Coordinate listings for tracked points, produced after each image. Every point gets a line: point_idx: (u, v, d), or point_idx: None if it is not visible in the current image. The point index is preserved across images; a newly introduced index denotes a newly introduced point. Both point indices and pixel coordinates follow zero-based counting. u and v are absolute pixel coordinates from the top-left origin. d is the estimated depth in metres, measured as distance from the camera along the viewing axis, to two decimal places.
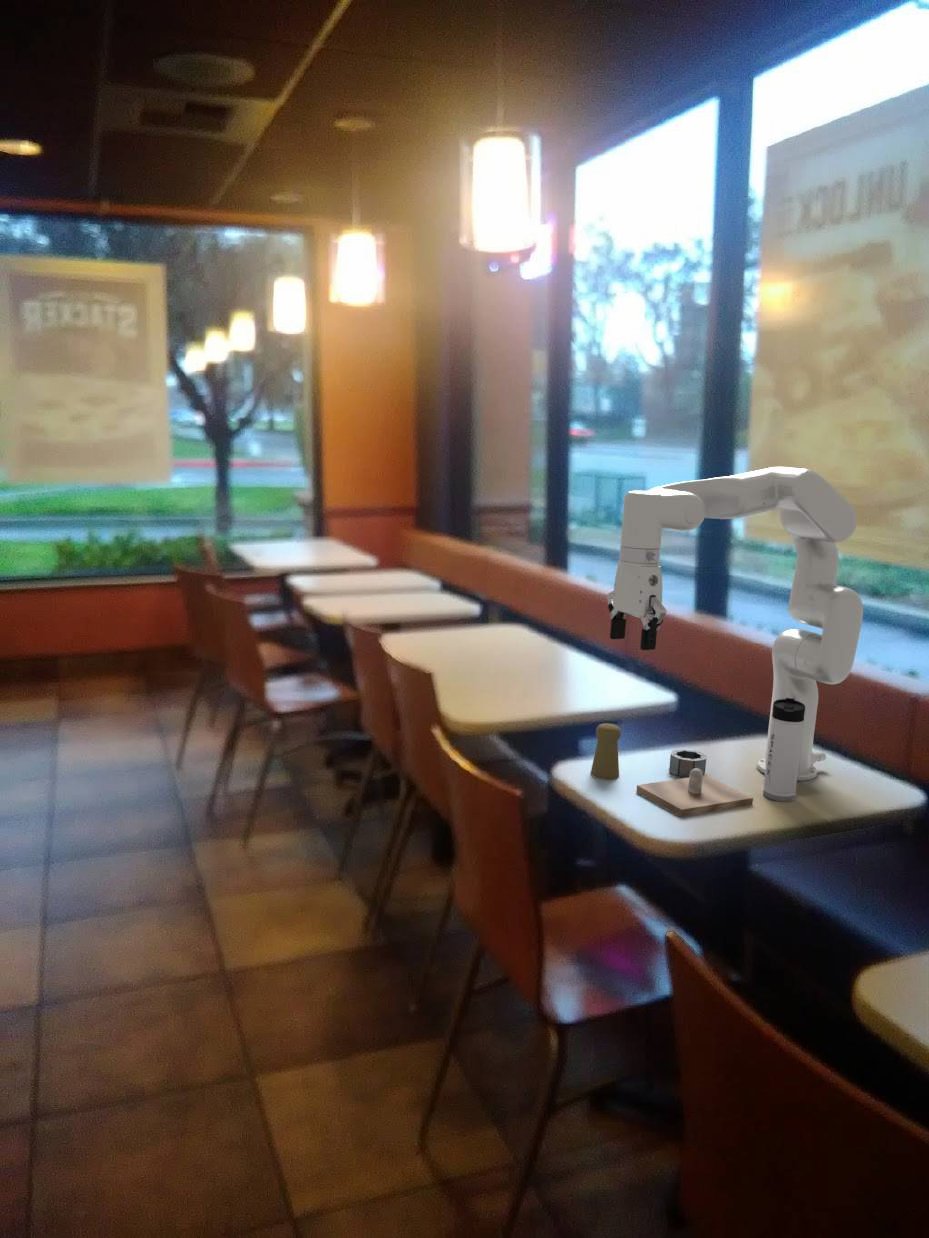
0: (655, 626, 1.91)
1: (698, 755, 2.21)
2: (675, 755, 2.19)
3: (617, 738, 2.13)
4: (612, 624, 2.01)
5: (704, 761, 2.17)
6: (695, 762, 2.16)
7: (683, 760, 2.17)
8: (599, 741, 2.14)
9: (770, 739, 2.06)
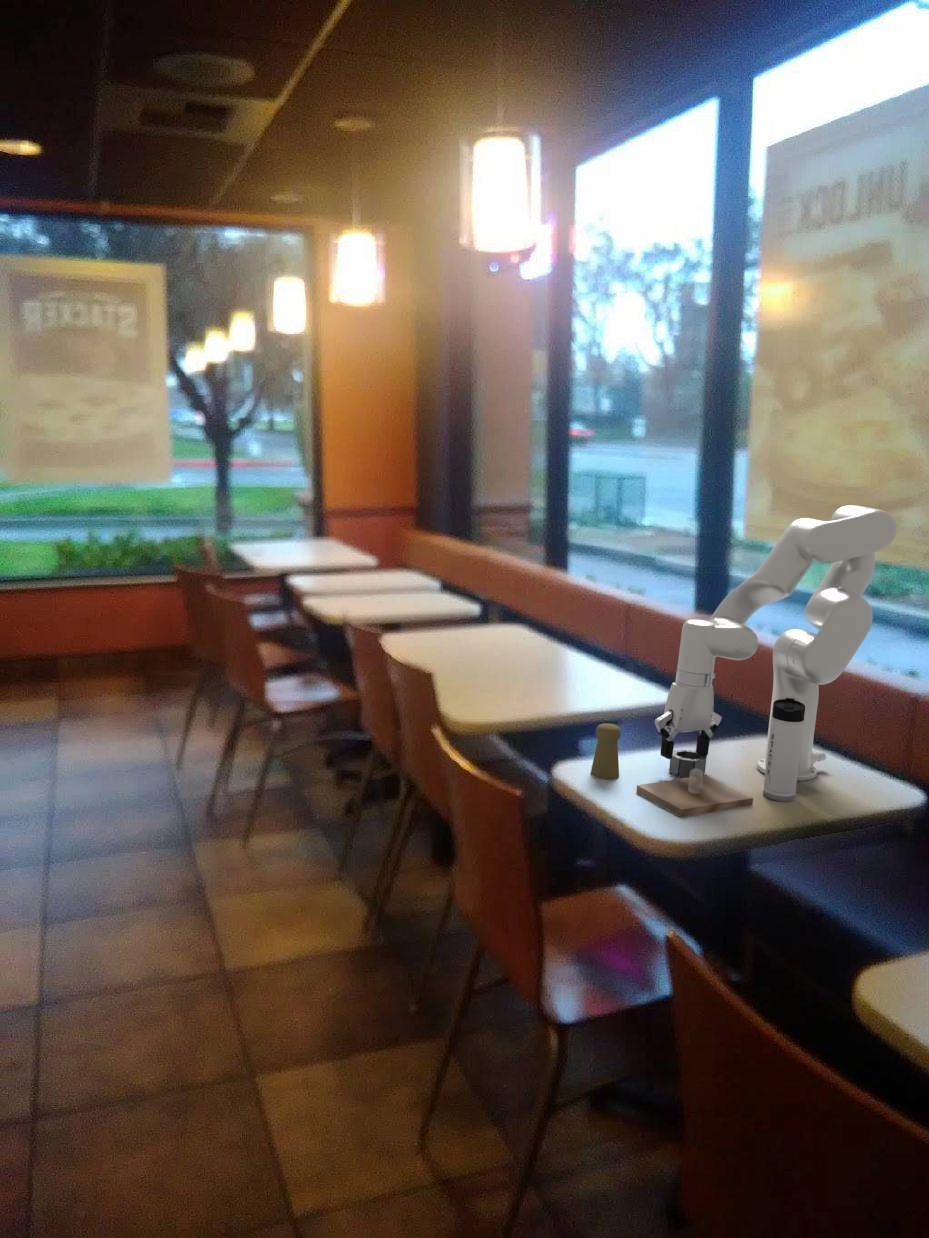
0: None
1: (698, 755, 2.21)
2: (675, 755, 2.19)
3: (617, 738, 2.13)
4: (673, 745, 2.16)
5: (704, 761, 2.17)
6: (695, 762, 2.16)
7: (683, 760, 2.17)
8: (599, 741, 2.14)
9: (770, 739, 2.06)
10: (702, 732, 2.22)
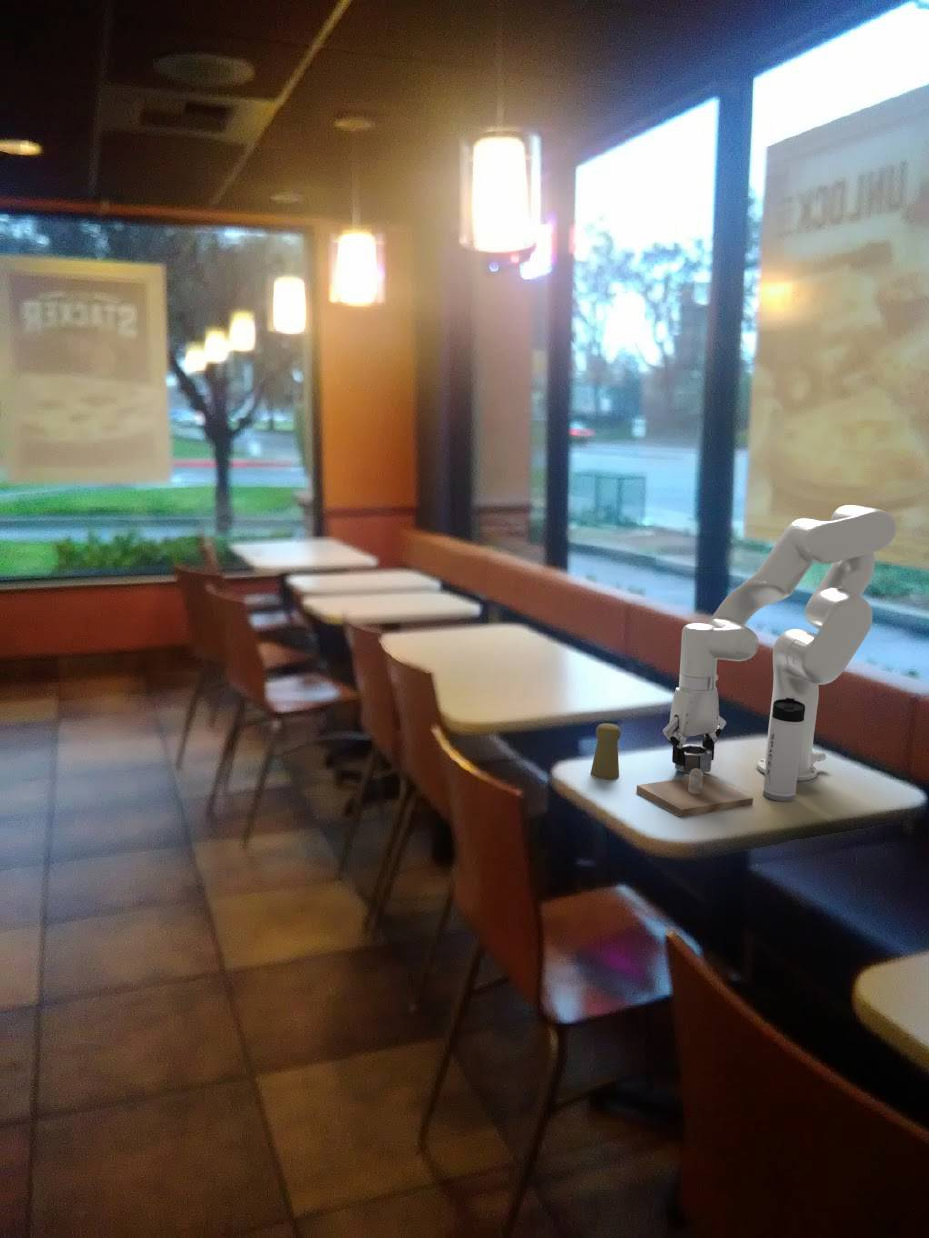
0: None
1: (703, 749, 2.21)
2: None
3: (617, 738, 2.13)
4: (684, 752, 2.17)
5: (709, 755, 2.17)
6: (700, 757, 2.16)
7: (688, 756, 2.17)
8: (599, 741, 2.14)
9: (770, 739, 2.06)
10: (707, 736, 2.22)
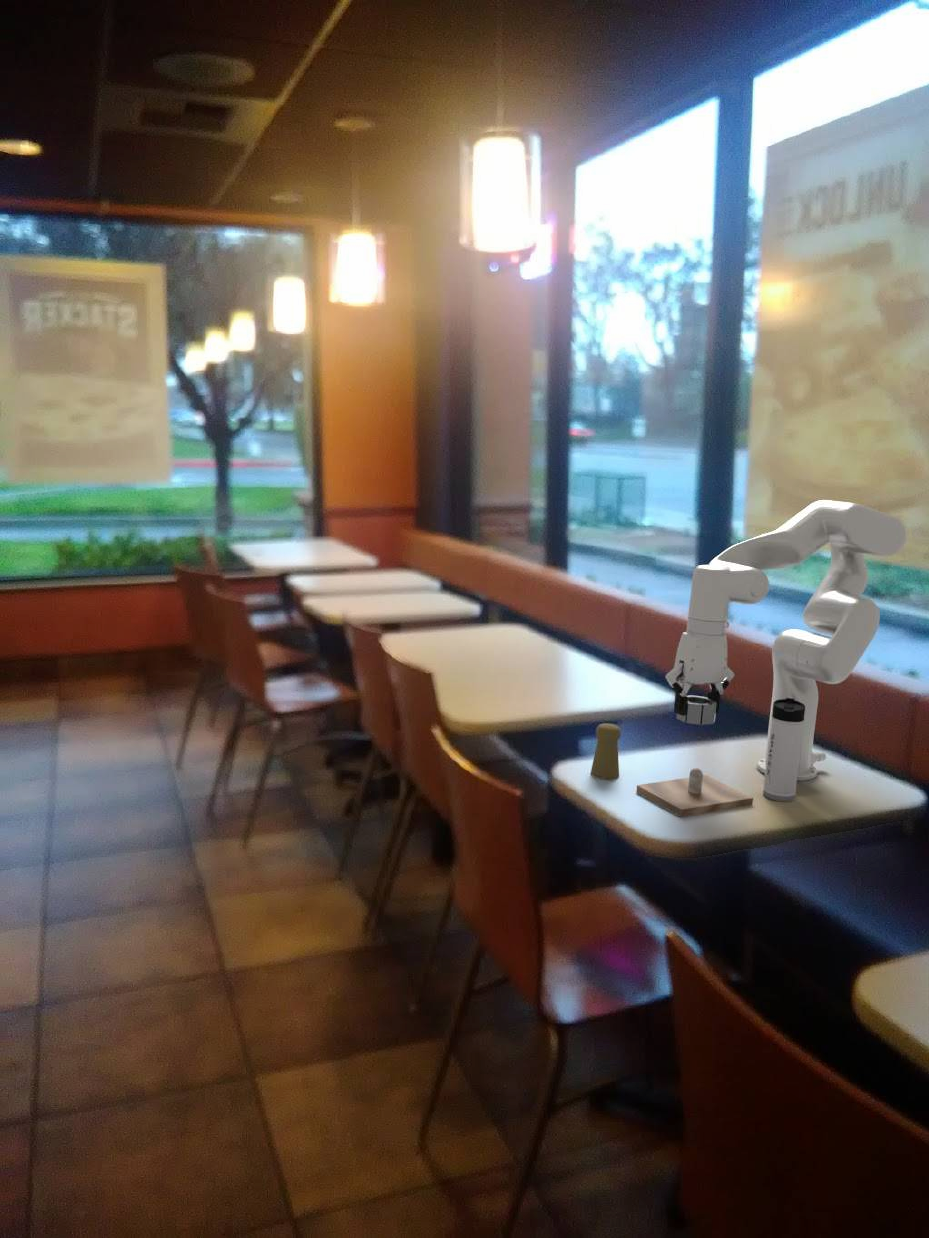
0: None
1: (708, 701, 2.08)
2: None
3: (617, 738, 2.13)
4: (686, 701, 2.04)
5: (714, 706, 2.04)
6: (704, 707, 2.03)
7: (691, 704, 2.04)
8: (599, 741, 2.14)
9: (770, 739, 2.06)
10: (713, 688, 2.09)
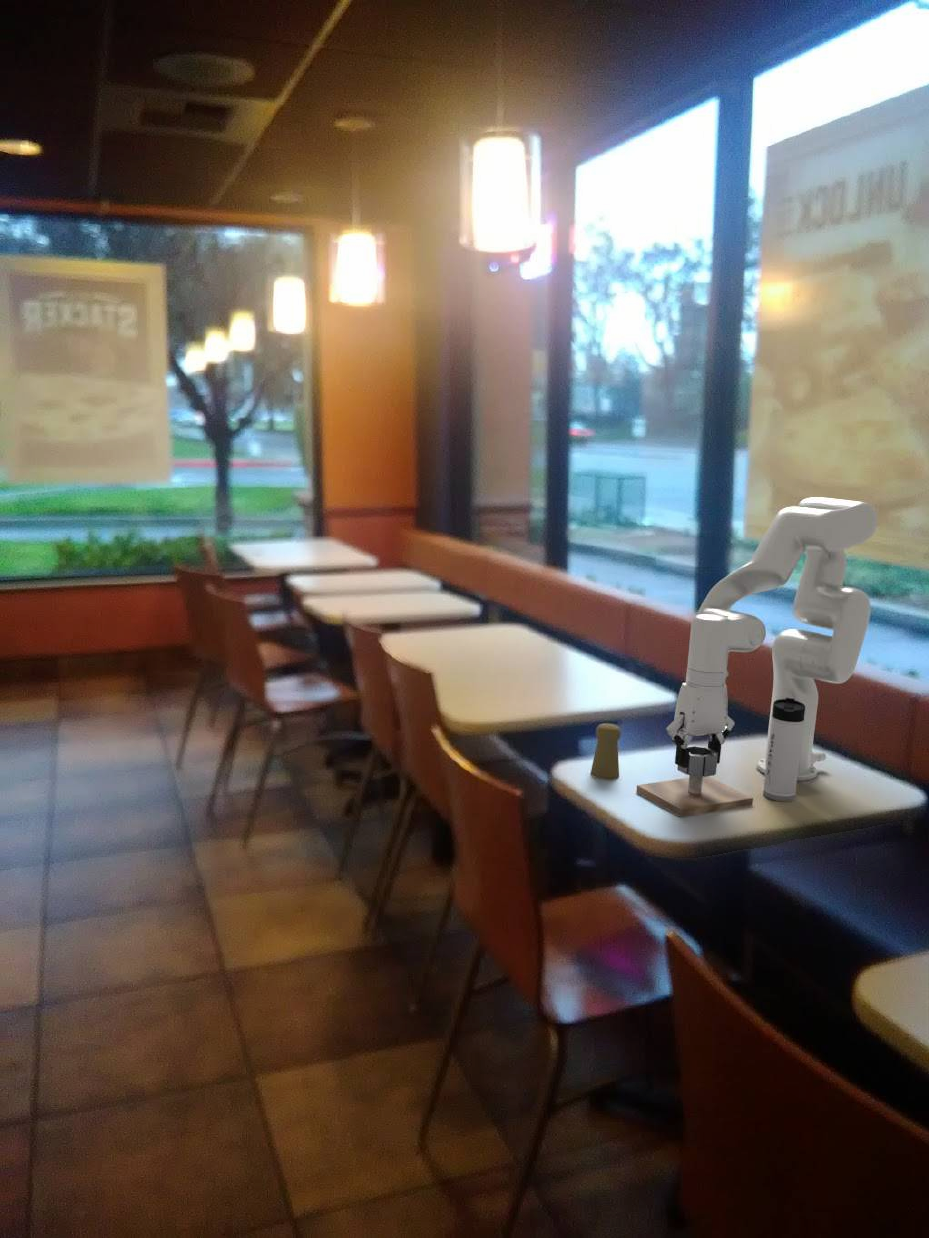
0: None
1: (709, 751, 2.04)
2: None
3: (617, 738, 2.13)
4: (688, 753, 2.00)
5: (715, 757, 2.01)
6: (706, 759, 2.00)
7: (692, 757, 2.00)
8: (599, 741, 2.14)
9: (770, 739, 2.06)
10: (713, 737, 2.05)
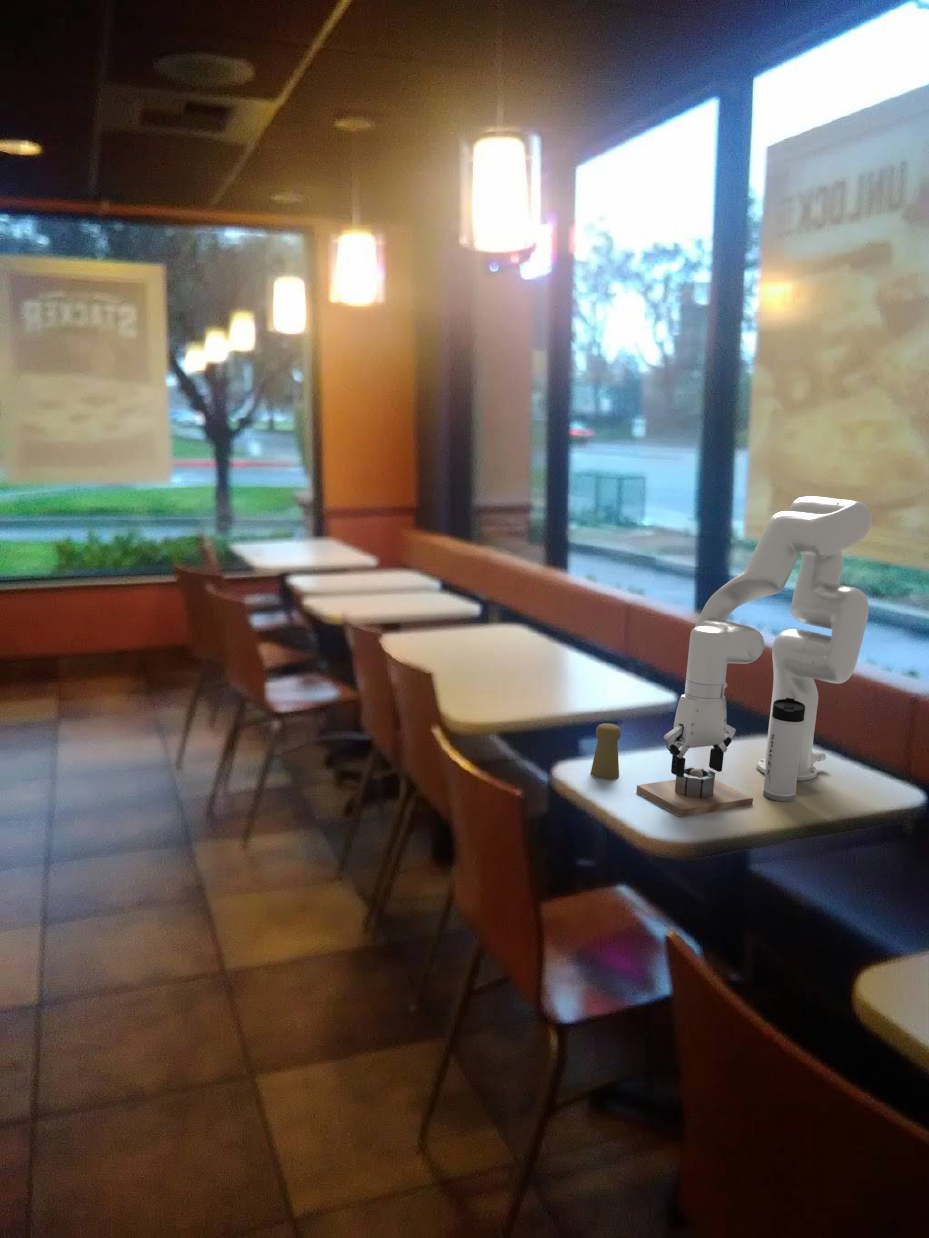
0: None
1: (706, 773, 2.05)
2: None
3: (617, 738, 2.13)
4: (684, 763, 2.00)
5: (713, 779, 2.02)
6: (703, 781, 2.00)
7: (690, 778, 2.01)
8: (599, 741, 2.14)
9: (770, 739, 2.06)
10: (715, 746, 2.06)
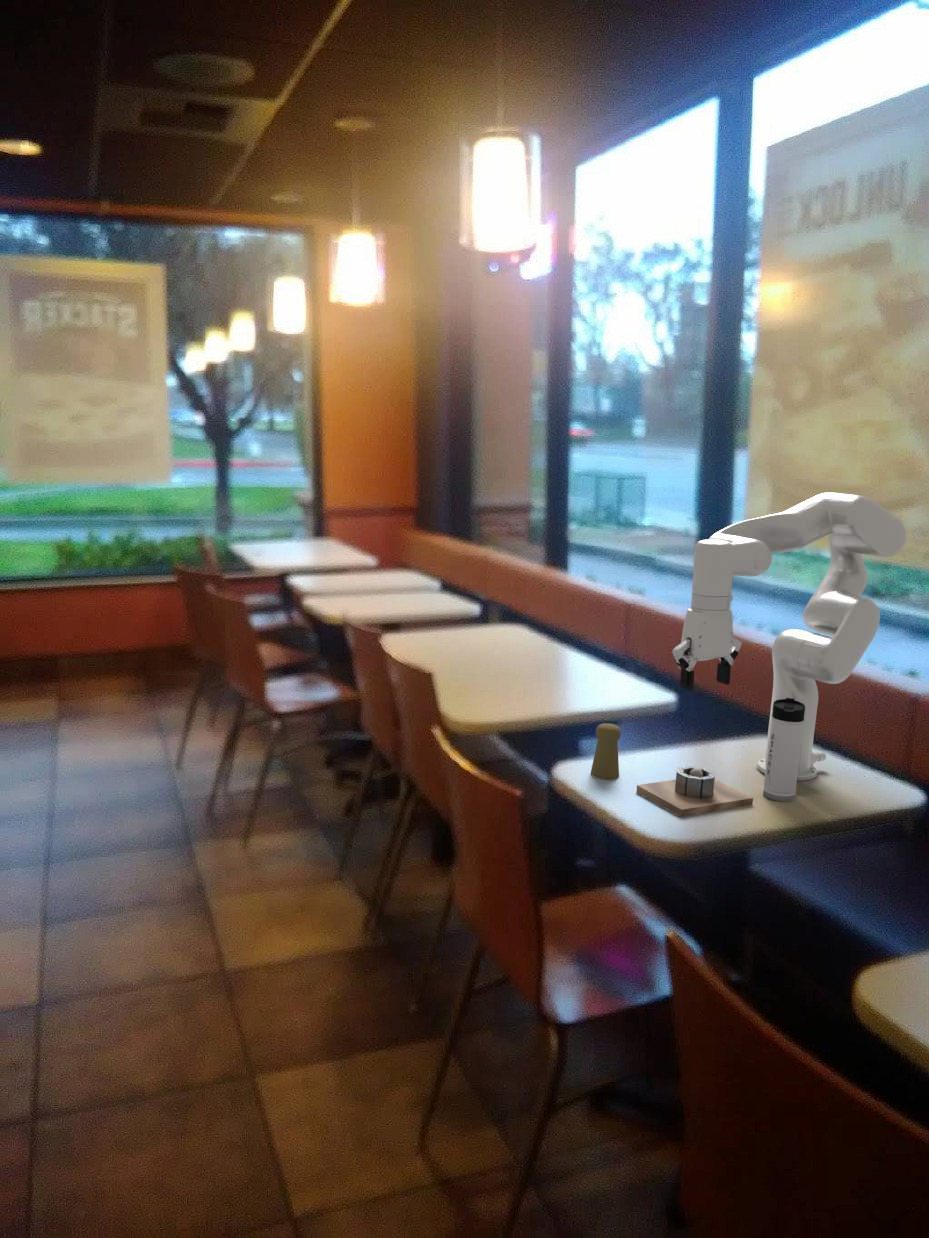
0: None
1: (706, 773, 2.05)
2: (681, 773, 2.03)
3: (617, 738, 2.13)
4: (693, 676, 2.02)
5: (713, 779, 2.02)
6: (703, 781, 2.00)
7: (690, 778, 2.01)
8: (599, 741, 2.14)
9: (770, 739, 2.06)
10: (722, 660, 2.08)
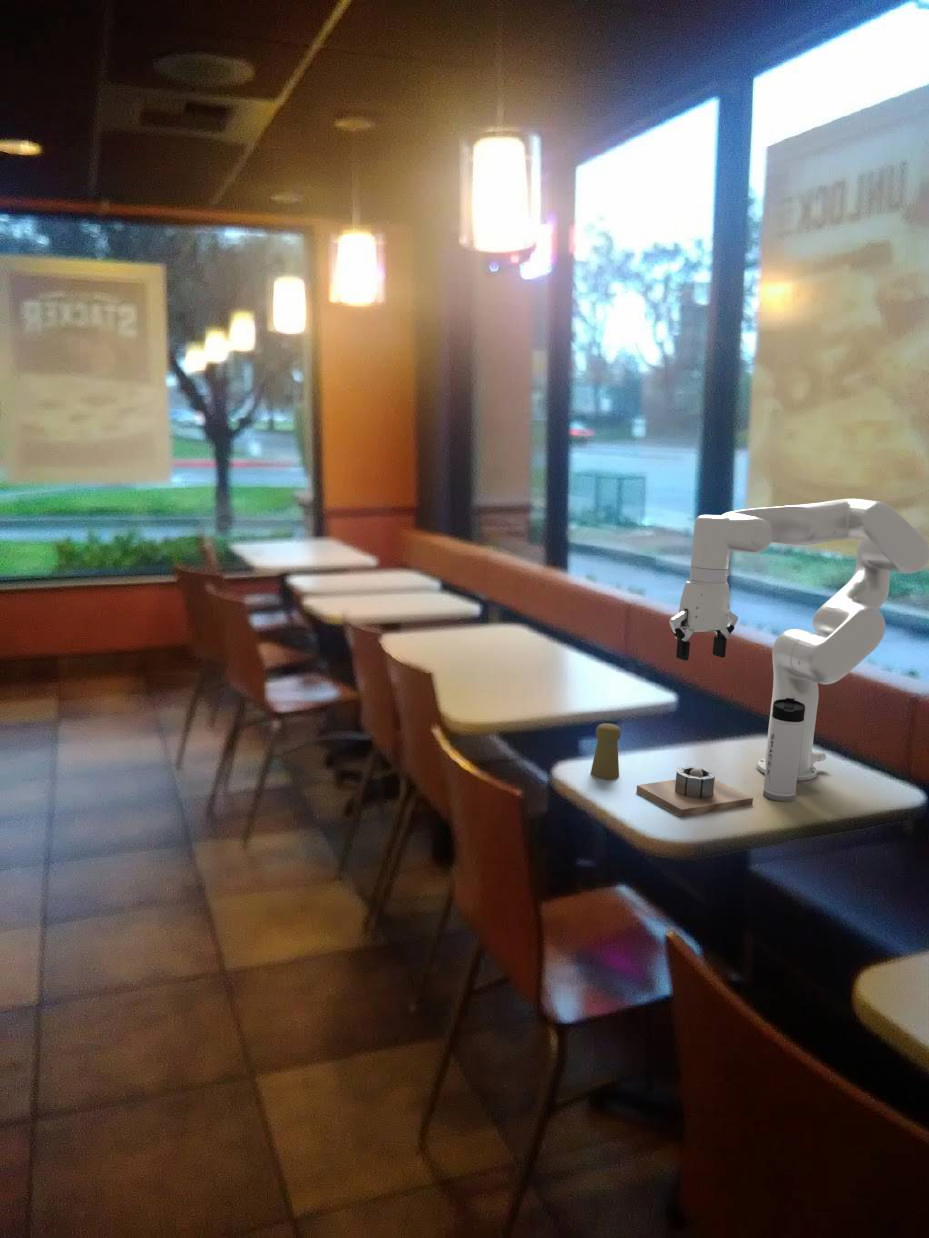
0: None
1: (706, 773, 2.05)
2: (681, 773, 2.03)
3: (617, 738, 2.13)
4: (689, 646, 2.08)
5: (713, 779, 2.02)
6: (703, 781, 2.00)
7: (690, 778, 2.01)
8: (599, 741, 2.14)
9: (770, 739, 2.06)
10: (718, 633, 2.14)
